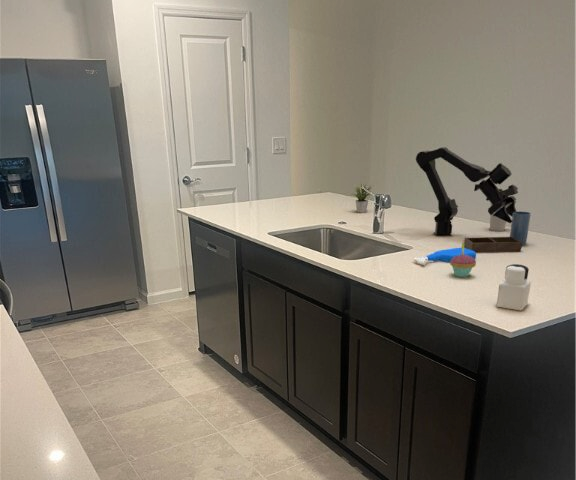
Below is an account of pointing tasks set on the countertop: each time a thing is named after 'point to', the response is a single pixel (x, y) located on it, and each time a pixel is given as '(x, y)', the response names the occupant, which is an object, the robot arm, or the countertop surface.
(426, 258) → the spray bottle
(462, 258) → the cupcake
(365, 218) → the countertop surface
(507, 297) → the medicine bottle
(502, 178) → the robot arm
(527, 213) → the tumbler
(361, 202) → the house plant
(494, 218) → the coffee cup
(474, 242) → the wooden divided tray
